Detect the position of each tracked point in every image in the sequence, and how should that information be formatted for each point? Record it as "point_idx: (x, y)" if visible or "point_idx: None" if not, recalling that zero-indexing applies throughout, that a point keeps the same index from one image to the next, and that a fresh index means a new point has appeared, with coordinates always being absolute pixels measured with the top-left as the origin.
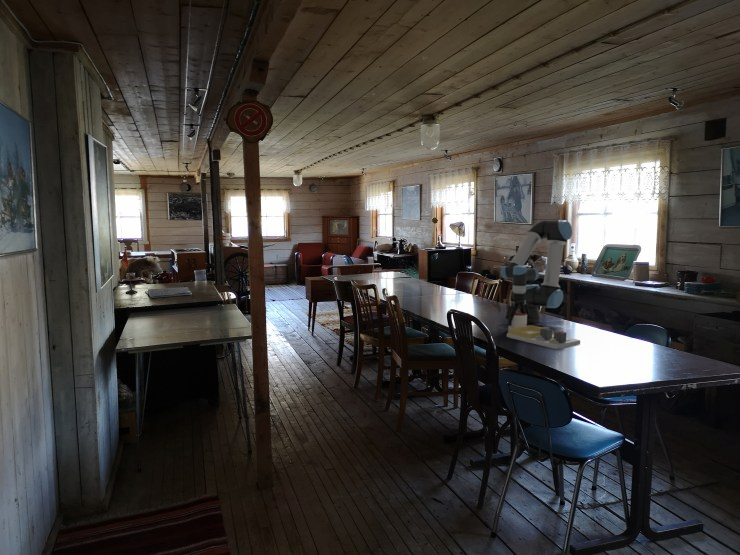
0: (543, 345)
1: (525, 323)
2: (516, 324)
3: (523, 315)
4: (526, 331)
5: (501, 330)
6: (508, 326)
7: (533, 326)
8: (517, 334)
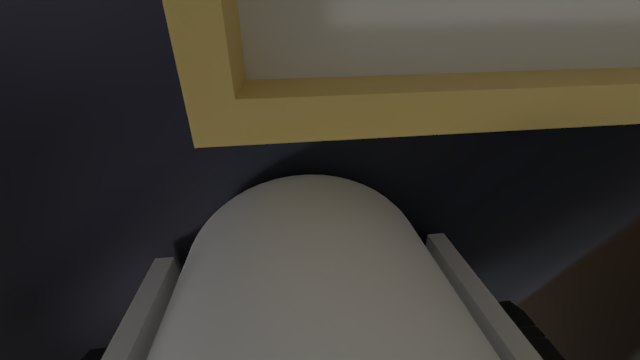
0: None
1: (282, 255)
2: (452, 287)
3: None
4: (436, 31)
5: None
6: None
7: (224, 15)
8: None
